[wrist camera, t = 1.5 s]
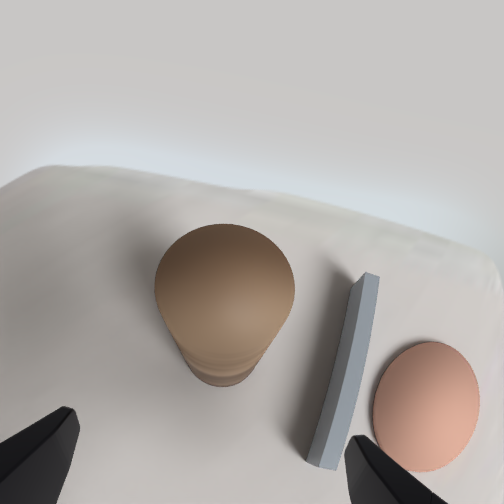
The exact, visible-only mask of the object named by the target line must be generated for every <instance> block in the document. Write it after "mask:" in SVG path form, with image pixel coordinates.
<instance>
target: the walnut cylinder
mask: <svg viewBox="0 0 504 504" xmlns="http://www.w3.org/2000/svg"><path fill="white" fill-rule="evenodd" d="M294 293H295V284H294V277H293V273H292V270H291V267H290V265H289V263H288V261H287V259H286V257H285V256H284V254H283V253H282V251H281V250H280V249H279V248H278V247H277V246H276V245H275V244H274V243H273V242H272V241H271V240H270V239H268V238H267V237H265V236H264V235H262V234H261V233H259V232H257V231H255V230H252V229H250V228H247V227H243V226H239V225H233V224H214V225H208V226H204V227H201V228H198V229H195V230H193V231H191V232H189V233H187V234H185V235H184V236H182V237H181V238H179V239H178V240H177V241H176V242H175V243H174V244H173V245H171V247H170V248H169V249H168V250H167V251H166V253H165V254H164V256H163V258H162V259H161V262H160V264H159V266H158V269H157V273H156V277H155V297H156V302H157V305H158V309H159V311H160V313H161V315H162V317H163V319H164V321H165V323H166V325H167V327H168V329H169V331H170V333H171V334H172V336H173V338H174V340H175V342H176V344H177V346H178V347H179V349H180V351H181V353H182V355H183V357H184V358H185V360H186V362H187V364H188V365H189V367H190V369H191V371H192V372H193V373H194V374H195V376H196V377H197V378H199V379H200V380H201V381H203V382H205V383H207V384H209V385H212V386H217V387H228V386H232V385H235V384H238V383H240V382H241V381H243V380H244V379H245V378H246V377H248V376H249V374H250V373H251V372H252V370H253V369H254V367H255V366H256V365H257V363H258V362H259V360H260V359H261V357H262V356H263V354H264V353H265V351H266V350H267V348H268V347H269V345H270V344H271V342H272V341H273V339H274V338H275V336H276V335H277V333H278V332H279V330H280V329H281V327H282V326H283V324H284V322H285V321H286V319H287V317H288V316H289V313H290V311H291V308H292V305H293V301H294Z"/></svg>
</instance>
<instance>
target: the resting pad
mask: <svg viewBox="0 0 504 504" xmlns="http://www.w3.org/2000/svg"><path fill="white" fill-rule="evenodd" d="M479 407H480V396H479V388H478V383H477V380H476V377H475V374H474V372H473V370H472V368H471V366H470V364H469V363H468V361H467V360H466V359H465V358H464V357H463V356H462V355H461V354H460V353H459V352H458V351H457V350H455V349H454V348H452V347H450V346H448V345H446V344H443V343H438V342H427V343H422V344H418V345H416V346H414V347H412V348H410V349H407V350H406V351H404V352H403V353H401V354H400V355H399V356H398V357H396V358H395V359H394V360H393V362H392V363H391V364H390V365H389V366H388V368H387V369H386V371H385V372H384V374H383V376H382V378H381V380H380V382H379V385H378V387H377V390H376V394H375V398H374V404H373V426H374V432H375V436H376V439H377V442H378V444H379V446H380V448H381V450H383V451H384V452H385V453H386V454H387V455H388V456H390V457H391V458H392V459H393V460H394V461H396V462H397V463H398V464H399V465H400V466H401V467H403V468H404V469H405V470H408V471H415V472H429V471H434V470H436V469H439V468H441V467H443V466H445V465H447V464H448V463H450V462H451V461H453V460H454V459H455V458H456V457H457V456H458V455H459V454H460V453H461V452H462V451H463V449H464V448H465V447H466V445H467V444H468V442H469V440H470V438H471V437H472V434H473V432H474V430H475V427H476V424H477V420H478V415H479Z"/></svg>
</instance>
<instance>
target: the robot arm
mask: <svg viewBox="0 0 504 504" xmlns="http://www.w3.org/2000/svg"><path fill="white" fill-rule="evenodd" d="M79 432H80V424H79V421H78V418H77V415H76V412H75V410H74V409H72V408H69V407H66V406H62V407H60V408H59V409H57V410H55V411H54V412H52V413H50V414H49V415H47V416H45V417H44V418H42V419H40V420H39V421H37V422H35V423H34V424H32V425H30V426H29V427H27V428H25V429H24V430H22V431H20V432H19V433H17V434H15V435H13V436H12V437H10V438H8V439H7V440H5V441H3V442H1V443H0V504H56V503H57V500H58V497H59V495H60V492H61V489H62V487H63V484H64V481H65V479H66V476H67V474H68V471H69V468H70V465H71V462H72V458H73V454H74V450H75V446H76V443H77V439H78V436H79ZM344 458H345V465H346V473H347V482H348V490H349V495H350V500H351V504H448V503H447V502H445V501H444V500H443V499H441V498H440V497H439V496H437V495H436V494H435V493H432V491H431V490H430V489H428V488H427V487H426V486H425V485H423V484H422V483H421V482H420V481H418V480H417V479H416V478H415V477H414V476H412V475H411V474H410V473H409V472H407V471H406V470H405V469H404V468H403V467H401V466H400V465H399V464H398V463H397V462H396V461H394V460H393V459H392V458H391V457H390V456H388V455H387V454H386V453H385V452H384V451H383V450H381V449H380V448H379V447H378V446H377V445H376V444H375V443H373V442H372V441H371V440H370V439H369V438H368V437H367V436H365V435H354V436H352V437H351V439H350V441H349V443H348V445H347V447H346V450H345V453H344Z"/></svg>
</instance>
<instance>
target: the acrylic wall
mask: <svg viewBox="0 0 504 504" xmlns="http://www.w3.org/2000/svg"><path fill="white" fill-rule="evenodd" d="M379 279H380V277H379V276H376V275H373V274H370V273H367V272H365V273H364V274H363V275H362V276H361V278H360V279H359V280H358V281H357V282H356V283H355V284H354V285H353V287H352V288H351V291H350V296H349V301H348V306H347V311H346V316H345V320H344V325H343V330H342V334H341V338H340V343H339V347H338V351H337V355H336V359H335V364H334V368H333V371H332V375H331V379H330V383H329V387H328V390H327V394H326V398H325V401H324V405H323V408H322V412H321V415H320V418H319V422H318V425H317V428H316V432H315V435H314V438H313V441H312V444H311V447H310V450H309V453H308V456H307V459H306V462H307V463H310V464H312V465H314V466H316V467H319V468H325V469H330V470H337V467H338V463H339V460H340V457H341V454H342V451H343V448H344V444H345V441H346V437H347V434H348V431H349V427H350V423H351V420H352V416H353V412H354V408H355V405H356V401H357V397H358V392H359V388H360V384H361V380H362V375H363V371H364V366H365V361H366V357H367V352H368V347H369V341H370V336H371V330H372V325H373V319H374V313H375V307H376V300H377V293H378V286H379Z"/></svg>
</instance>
